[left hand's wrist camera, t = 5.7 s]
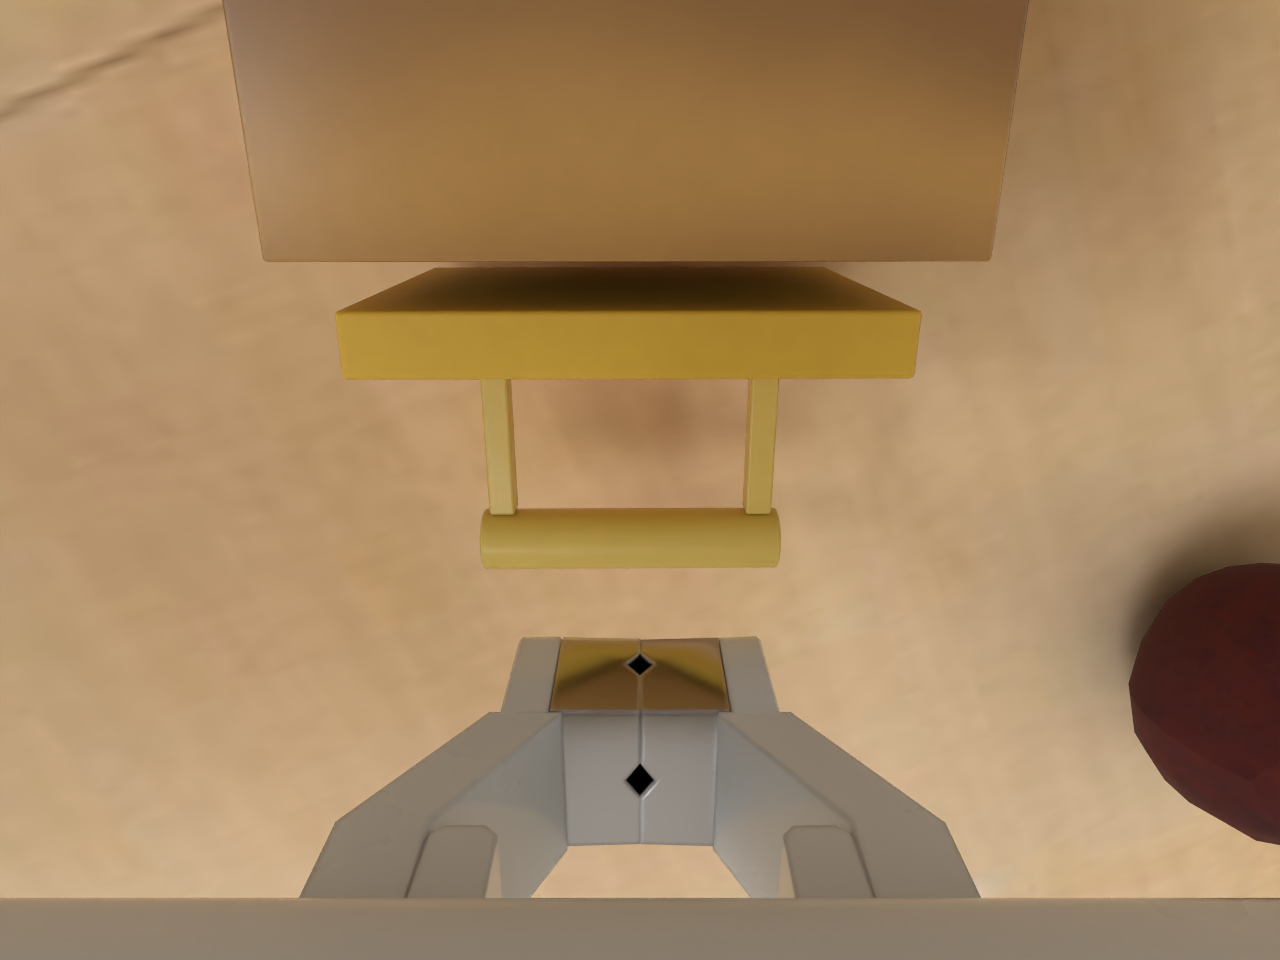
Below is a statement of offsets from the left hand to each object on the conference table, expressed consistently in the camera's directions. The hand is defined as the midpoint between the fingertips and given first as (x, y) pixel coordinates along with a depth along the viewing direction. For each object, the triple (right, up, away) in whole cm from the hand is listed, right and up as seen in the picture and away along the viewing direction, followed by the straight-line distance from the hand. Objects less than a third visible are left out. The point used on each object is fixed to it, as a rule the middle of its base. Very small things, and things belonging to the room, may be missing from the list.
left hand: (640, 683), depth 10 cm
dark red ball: (+18, -2, +15) cm, 24 cm away
